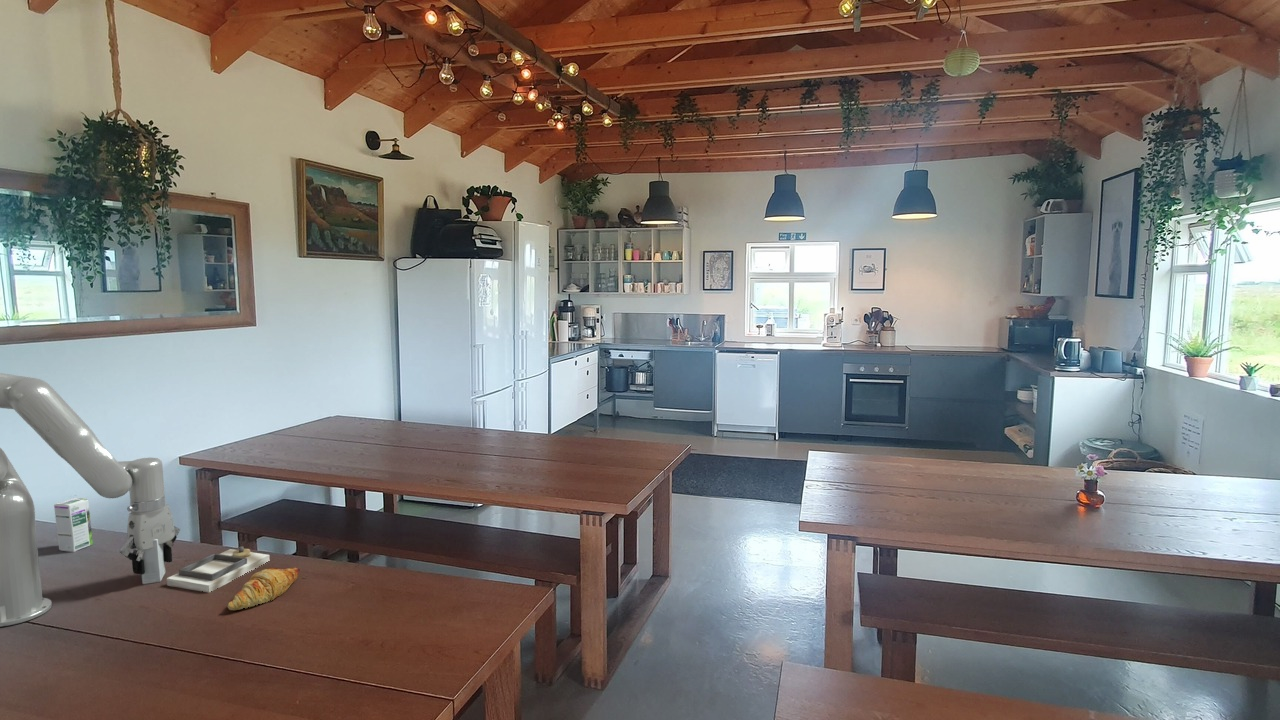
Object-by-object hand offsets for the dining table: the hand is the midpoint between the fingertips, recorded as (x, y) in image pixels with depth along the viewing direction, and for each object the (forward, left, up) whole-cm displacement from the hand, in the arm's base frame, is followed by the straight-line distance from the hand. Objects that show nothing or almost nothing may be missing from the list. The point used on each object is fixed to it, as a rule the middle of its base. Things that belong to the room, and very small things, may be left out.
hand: (153, 566), depth 181 cm
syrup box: (+9, +41, -4) cm, 42 cm away
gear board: (+8, -14, -3) cm, 16 cm away
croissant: (+1, -35, -4) cm, 36 cm away
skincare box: (0, 0, -4) cm, 4 cm away
